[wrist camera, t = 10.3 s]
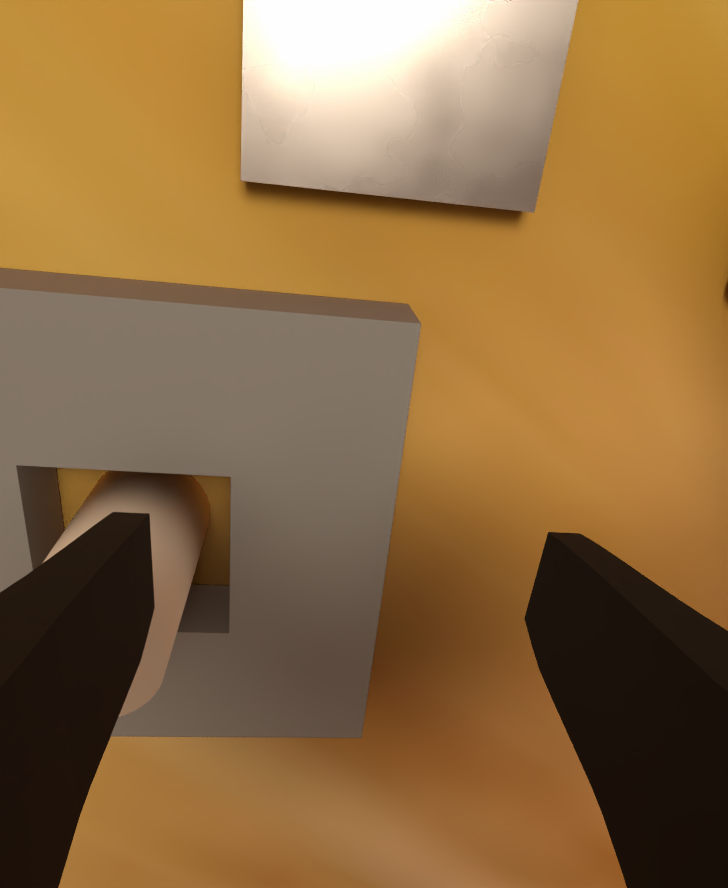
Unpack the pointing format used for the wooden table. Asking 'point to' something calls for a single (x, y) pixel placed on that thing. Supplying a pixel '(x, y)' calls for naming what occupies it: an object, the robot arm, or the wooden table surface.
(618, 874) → the wooden table surface
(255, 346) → the hole plate
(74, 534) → the peg
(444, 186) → the square grey metal plate
